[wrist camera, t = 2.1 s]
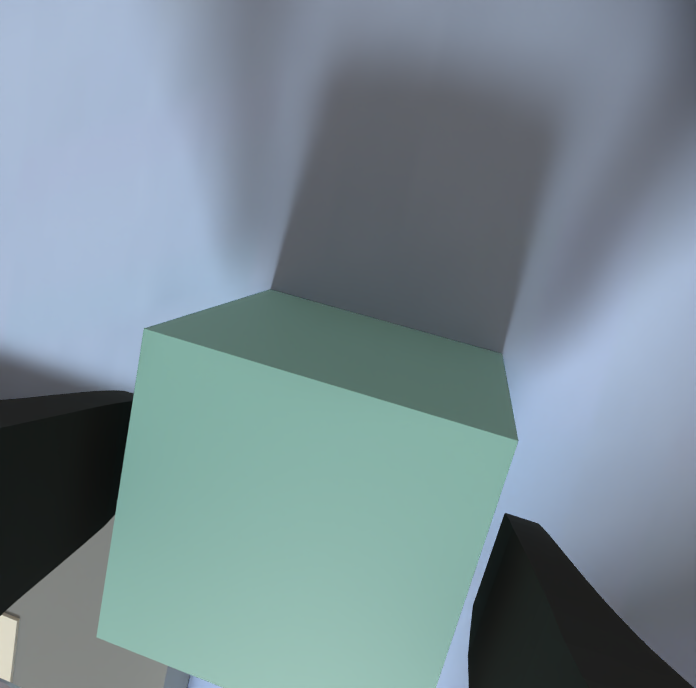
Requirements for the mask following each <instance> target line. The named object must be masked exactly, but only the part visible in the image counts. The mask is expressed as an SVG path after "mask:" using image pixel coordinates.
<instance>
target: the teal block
mask: <svg viewBox="0 0 696 688" xmlns="http://www.w3.org/2000/svg"><path fill="white" fill-rule="evenodd" d="M517 443H518V437H517V431H516V426H515V420H514V415H513V410H512V404H511V399H510V394H509V388H508V383H507V377H506V372H505V367H504V361H503V356H502V354H501V353H497V352H494V351H490V350H487V349H483V348H479V347H476V346H472V345H469V344H465V343H461V342H458V341H454V340H451V339H447V338H443V337H440V336H436V335H433V334H429V333H425V332H422V331H418V330H415V329H411V328H407V327H404V326H400V325H397V324H393V323H389V322H386V321H382V320H379V319H375V318H371V317H368V316H364V315H361V314H357V313H353V312H350V311H346V310H343V309H339V308H335V307H332V306H328V305H325V304H321V303H317V302H314V301H310V300H307V299H303V298H299V297H296V296H292V295H289V294H285V293H281V292H278V291H274V290H271V289H270V290H267V291H263V292H260V293H257V294H254V295H250V296H247V297H244V298H241V299H238V300H234V301H231V302H228V303H225V304H221V305H218V306H215V307H212V308H209V309H205V310H202V311H199V312H196V313H192V314H189V315H186V316H183V317H180V318H176V319H173V320H170V321H167V322H163V323H160V324H157V325H154V326H151V327H147V328H144V331H143V338H142V344H141V351H140V357H139V364H138V370H137V377H136V383H135V390H134V396H133V403H132V409H131V416H130V422H129V429H128V435H127V442H126V448H125V455H124V461H123V468H122V474H121V481H120V487H119V494H118V500H117V507H116V513H115V520H114V526H113V533H112V539H111V546H110V552H109V559H108V565H107V572H106V578H105V584H104V591H103V597H102V604H101V610H100V617H99V623H98V630H97V636H96V637H97V638H99V639H102V640H104V641H107V642H109V643H112V644H114V645H117V646H120V647H122V648H125V649H127V650H130V651H132V652H135V653H137V654H140V655H142V656H145V657H147V658H150V659H152V660H155V661H157V662H160V663H162V664H165V665H167V666H170V667H172V668H175V669H177V670H180V671H182V672H185V673H187V674H190V675H192V676H195V677H197V678H200V679H203V680H205V681H208V682H210V683H213V684H215V685H218V686H220V687H223V688H436V686H437V683H438V680H439V677H440V674H441V671H442V668H443V665H444V662H445V659H446V656H447V653H448V650H449V647H450V644H451V641H452V638H453V635H454V632H455V629H456V626H457V623H458V620H459V617H460V614H461V611H462V608H463V605H464V602H465V599H466V596H467V593H468V590H469V587H470V584H471V581H472V578H473V575H474V572H475V569H476V566H477V563H478V560H479V557H480V554H481V551H482V548H483V545H484V542H485V539H486V536H487V533H488V530H489V527H490V524H491V521H492V518H493V515H494V512H495V509H496V506H497V503H498V500H499V497H500V494H501V491H502V488H503V485H504V482H505V479H506V476H507V473H508V470H509V467H510V464H511V461H512V458H513V455H514V452H515V449H516V446H517Z"/></svg>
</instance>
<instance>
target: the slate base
mask: <svg viewBox="0 0 696 688" xmlns="http://www.w3.org/2000/svg"><path fill="white" fill-rule="evenodd" d="M114 520H115V515H114V516H113V518H112V519H111V520H110V521H109V522H108V523H107V524H106V525H105V526H104V527H103V528H102V529H101V530H100V531H98V532H97V533H96V534H95V535H94V536H93V537H92V538H90V539H89V540H88V541H87V542H86V543H85V544H83V545H82V546H81V547H80V548H79V549H78V550H76V551H75V552H74V553H73V554H72V555H71V556H69V557H68V558H67V559H66V560H65V561H63V562H62V563H61V564H60V565H59V566H58V567H56V568H55V569H54V570H53V571H52V572H50V573H49V574H48V575H47V576H46V577H45V578H43V579H42V580H41V581H40V582H39V583H37V584H36V585H35V586H34V587H33V588H31V589H30V590H29V591H28V592H27V593H26V594H24V595H23V596H22V597H21V598H20V599H18V600H17V601H16V602H15V603H14V604H13V605H12V606H11V607H9V608H8V609H7V610H6V611H5V612H4V613H3V614H2V615H1V616H0V678H1V679H4V680H6V681H9V682H11V683H13V684H16V685H18V686H19V687H20V688H187V686H188V681H189V676H190V674H187V673H185V672H182V671H180V670H177V669H175V668H172V667H170V666H167V665H165V664H162V663H160V662H157V661H155V660H152V659H150V658H147V657H145V656H142V655H140V654H137V653H135V652H132V651H130V650H127V649H125V648H122V647H120V646H117V645H114V644H112V643H109V642H107V641H104V640H102V639H99V638H97V637H96V636H97V630H98V623H99V617H100V610H101V604H102V597H103V591H104V584H105V578H106V572H107V565H108V559H109V552H110V546H111V539H112V533H113V526H114Z"/></svg>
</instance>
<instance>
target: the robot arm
mask: <svg viewBox="0 0 696 688" xmlns="http://www.w3.org/2000/svg"><path fill="white" fill-rule="evenodd" d="M133 396H134V394H132V393H129V392H126V391H91V392H79V393H69V394H60V395H50V396H40V397H31V398H20V399H7V400H0V616H1V615H2V614H3V613H4V612H5V611H6V610H7V609H8V608H9V607H11V606H12V605H13V604H14V603H15V602H16V601H17V600H18V599H20V598H21V597H22V596H23V595H24V594H26V593H27V592H28V591H29V590H30V589H31V588H33V587H34V586H35V585H36V584H37V583H39V582H40V581H41V580H42V579H43V578H45V577H46V576H47V575H48V574H49V573H50V572H52V571H53V570H54V569H55V568H56V567H58V566H59V565H60V564H61V563H62V562H63V561H65V560H66V559H67V558H68V557H69V556H71V555H72V554H73V553H74V552H75V551H76V550H78V549H79V548H80V547H81V546H82V545H83V544H85V543H86V542H87V541H88V540H89V539H90V538H92V537H93V536H94V535H95V534H96V533H97V532H98V531H100V530H101V529H102V528H103V527H104V526H105V525H106V524H107V523H108V522H109V521H110V520H111V519H112V518H113V516H114V515H115V513H116V507H117V500H118V494H119V487H120V481H121V474H122V468H123V461H124V455H125V448H126V442H127V435H128V429H129V422H130V416H131V409H132V403H133ZM468 673H469V688H694V687H692V686H691V685H690V684H689V683H688V682H687V681H686V680H684V679H683V678H682V677H681V676H680V675H679V674H678V673H677V672H676V671H674V670H673V669H672V668H671V667H670V666H669V665H668V664H667V663H666V662H665V661H663V660H662V659H661V658H660V657H659V656H658V655H657V654H656V653H655V652H654V651H652V650H651V649H650V648H649V647H648V646H647V645H646V644H645V643H644V642H643V641H642V640H641V639H640V638H639V637H638V636H637V635H636V634H635V633H634V632H633V631H632V630H631V629H630V628H629V627H628V625H627V624H626V623H625V622H624V621H623V620H622V619H621V618H620V617H619V616H618V615H617V614H616V613H615V612H614V611H613V610H612V609H611V608H610V606H609V605H608V604H607V603H606V602H605V601H604V600H603V599H602V597H601V596H600V595H599V594H598V593H597V592H596V591H595V590H594V588H593V587H592V586H591V585H590V584H589V583H588V581H587V580H586V579H585V578H584V577H583V575H582V574H581V573H580V572H579V571H578V569H577V568H576V567H575V566H574V565H573V563H572V562H571V561H570V560H569V558H568V557H567V556H566V555H565V554H564V552H563V551H562V550H561V549H560V547H559V546H558V545H557V544H556V543H555V541H554V540H553V539H552V538H551V537H550V535H549V534H548V533H547V532H546V531H545V530H544V529H543V528H542V527H541V526H540V525H539V524H538V523H535V522H532V521H529V520H525V519H522V518H519V517H516V516H513V515H510V514H507V513H505V514H504V517H503V520H502V523H501V526H500V529H499V532H498V534H497V537H496V540H495V543H494V546H493V549H492V552H491V555H490V558H489V561H488V564H487V566H486V569H485V572H484V575H483V578H482V581H481V584H480V587H479V590H478V593H477V596H476V598H475V601H474V604H473V610H472V619H471V629H470V640H469V651H468ZM0 688H20V687H19V686H18V685H16V684H13V683H11V682H9V681H6V680H4V679H1V678H0Z"/></svg>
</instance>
